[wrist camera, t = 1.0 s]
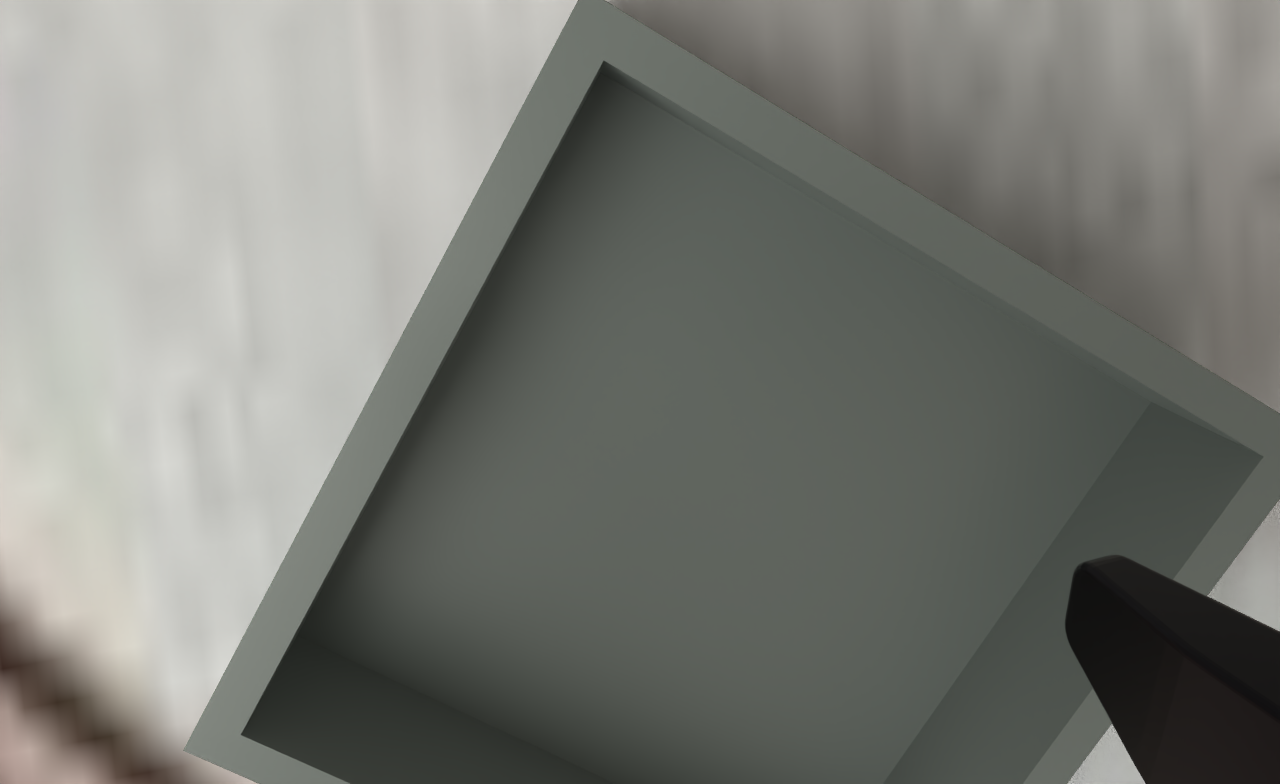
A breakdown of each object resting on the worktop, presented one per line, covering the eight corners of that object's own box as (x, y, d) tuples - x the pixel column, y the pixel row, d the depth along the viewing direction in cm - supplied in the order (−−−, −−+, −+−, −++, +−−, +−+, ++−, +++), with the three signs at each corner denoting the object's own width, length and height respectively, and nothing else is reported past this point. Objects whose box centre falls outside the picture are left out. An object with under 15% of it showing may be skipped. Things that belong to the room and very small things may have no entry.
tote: (821, 896, 26) (868, 1049, 22) (257, 635, 24) (183, 750, 19) (1185, 381, 23) (1322, 440, 19) (584, 17, 21) (584, -13, 16)
